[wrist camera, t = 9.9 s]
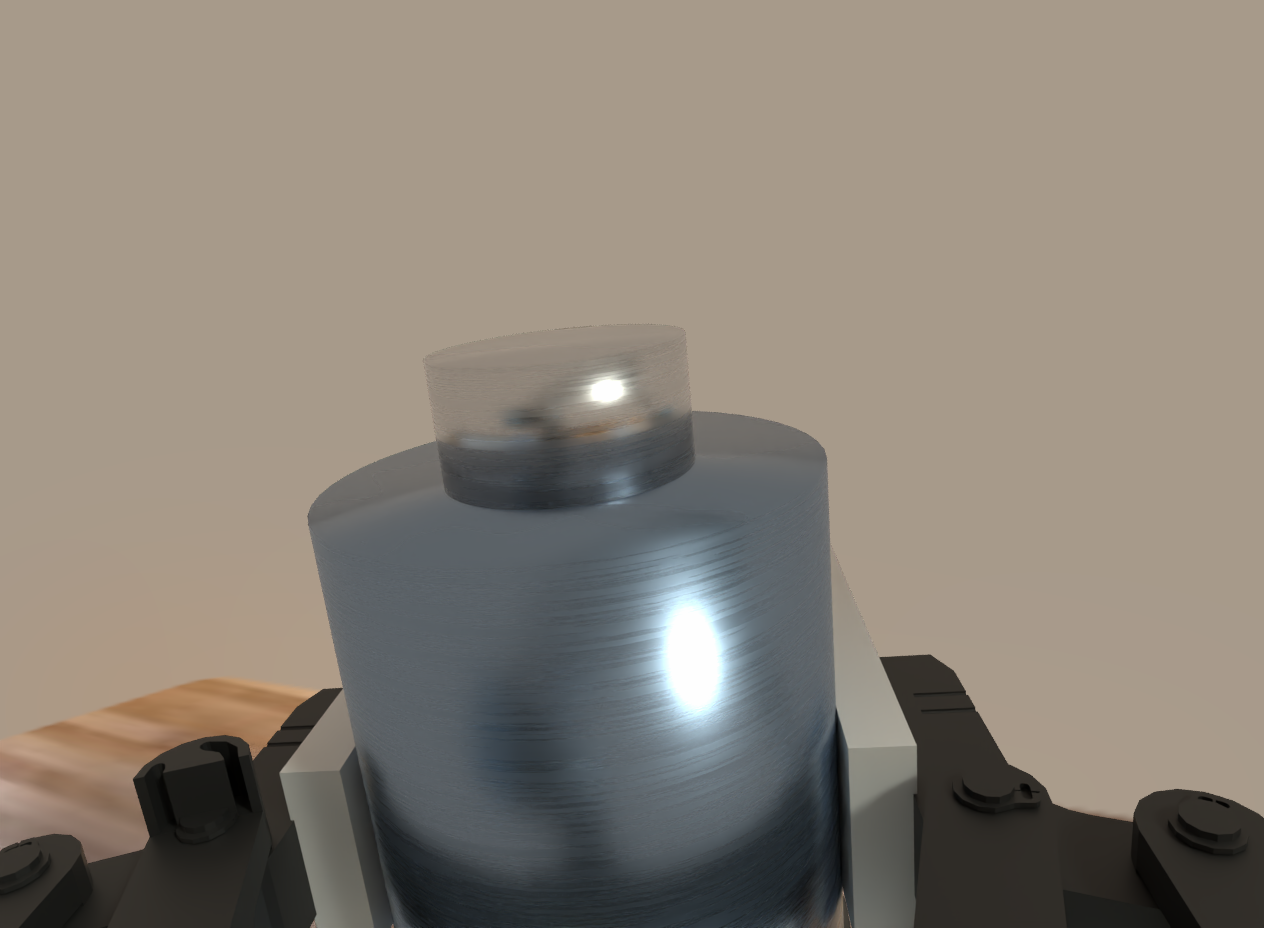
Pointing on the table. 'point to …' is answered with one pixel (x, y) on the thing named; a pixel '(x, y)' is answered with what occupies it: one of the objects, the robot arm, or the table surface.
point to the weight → (590, 647)
